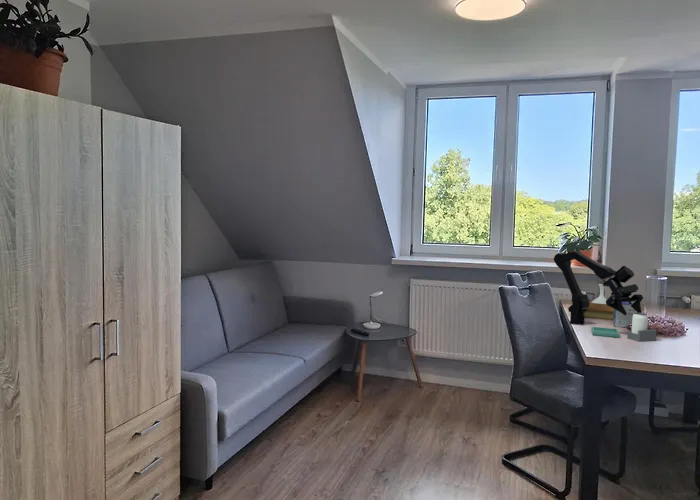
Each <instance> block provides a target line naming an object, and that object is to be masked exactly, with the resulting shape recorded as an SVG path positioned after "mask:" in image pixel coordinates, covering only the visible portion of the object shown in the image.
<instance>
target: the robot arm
mask: <svg viewBox="0 0 700 500" xmlns="http://www.w3.org/2000/svg"><path fill="white" fill-rule="evenodd" d="M573 260H576V261H577V262H579V263H581V264H582V265H583V266H585V267H587V268H588V269H590V270H591V271H592V272H593V273H594V274H595V276H597V277H598V279H600V280H603V282H604V283H603V282H602V284H603V286H606V287H608V288H609V290H610V291H611V293H610V296H609V297H608V298H606V299H607V300H606V304H607V306H610V307H612V308H614V309H616V310H617V311H619V312H621V313H622V314H624V315H627V313H626V311H625V309H624V307H623V305H622V302H629V304H631V307H632V308H633V309H634V310H636V312H638V313H643V311H642V306H641V302H642V301H643V300H644V296H643V294H639V293H636V292H638V291H639V286H638V285H637V284H636V283H633V284H630V285H629V284H628V285H626V286H623V284H622V283H624V284H625V283H627V282H629V280H631V279H632V278H633V277H635V273H634V271H633V270H632V269H630V268H629V267H627V266H626V265H622V266H621V267H620V268H619V269H618V270H614V269H613V268H611V267H610V266H608V265H607V266H606V265H604V264H602V263H601V264H600V263H598V262H597V261H595V260H594V259H592V258H590V257H588V256H587V255H586V254H583V253H582V252H581V251H579V250H573V251H570V252H566V253H564V252H561V253H556V254H555V255H554V256H553V261H554V263H555V264H556V266H557V267H558V269H560V271H561V272H562V274H563V276H564V278H565V281H566V285H567V286H568V289H569V291H570V294H571V305H570V306H568V308H567V309H568V312H569V313H570V319H569V324H573V325H582V326H583V325H584V324H585V315H584V312H585V311H586V309H587V308H588V307H589V305H590V304H589V303H590V301H591V300H590V299H589V297H588V295H587V293H583V292H582V291H581V289H580V286H579V284H578V281H577V280H576V277H575V274H574V272H573V270H572V267H571V265H572V261H573ZM606 279H607V281H606ZM634 293H635V294H634ZM632 294H633V295H632Z"/></svg>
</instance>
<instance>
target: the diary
mask: <svg viewBox="0 0 700 500" xmlns="http://www.w3.org/2000/svg"><path fill="white" fill-rule="evenodd" d="M589 304H590V305H589V307H588V308H587V309H586V311H585V312H584V315H585V318H586V319H593V320H603V319H604V320H605V321H613V317H614V308H612V307H610V306H607V304H599V303H592V302H589Z"/></svg>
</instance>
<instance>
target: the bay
mask: <svg viewBox="0 0 700 500" xmlns="http://www.w3.org/2000/svg"><path fill="white" fill-rule="evenodd" d="M626 338H627V339H628V340H633V341H636V342H639V343H640V342H653V341H657V329H647V330H639V331H638V334H636V333H632V331H627V337H626Z"/></svg>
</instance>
